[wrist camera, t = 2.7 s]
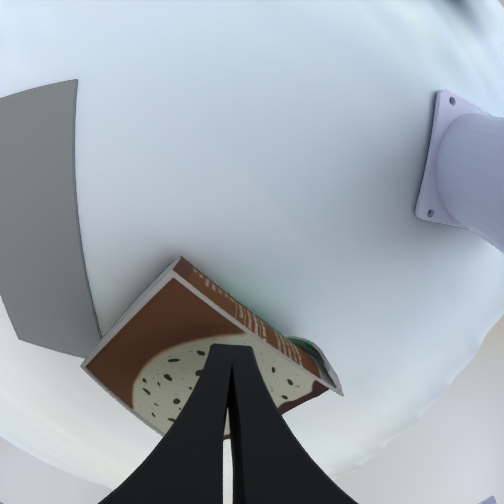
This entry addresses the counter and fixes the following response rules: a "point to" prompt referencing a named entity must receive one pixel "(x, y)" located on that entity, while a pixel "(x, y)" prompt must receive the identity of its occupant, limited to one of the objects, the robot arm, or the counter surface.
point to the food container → (196, 349)
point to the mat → (43, 222)
